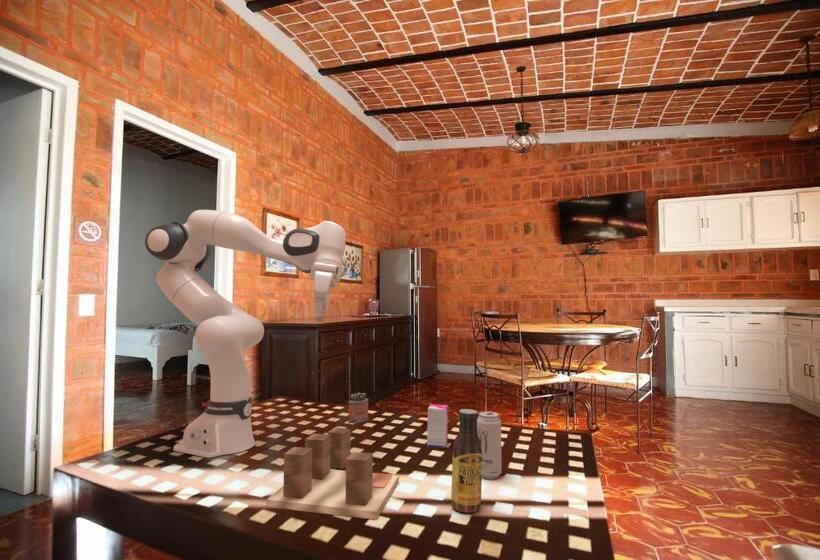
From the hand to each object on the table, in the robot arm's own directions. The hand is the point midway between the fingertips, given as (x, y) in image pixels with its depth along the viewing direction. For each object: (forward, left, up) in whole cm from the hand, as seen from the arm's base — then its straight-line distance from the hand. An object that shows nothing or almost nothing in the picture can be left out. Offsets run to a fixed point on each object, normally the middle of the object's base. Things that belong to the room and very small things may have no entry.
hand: (318, 319), depth 121 cm
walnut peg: (+9, -5, -38) cm, 39 cm away
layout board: (+15, -21, -38) cm, 46 cm away
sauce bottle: (+44, -21, -38) cm, 62 cm away
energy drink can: (+48, -3, -38) cm, 61 cm away
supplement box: (+32, +17, -38) cm, 53 cm away
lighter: (0, +36, -38) cm, 52 cm away
